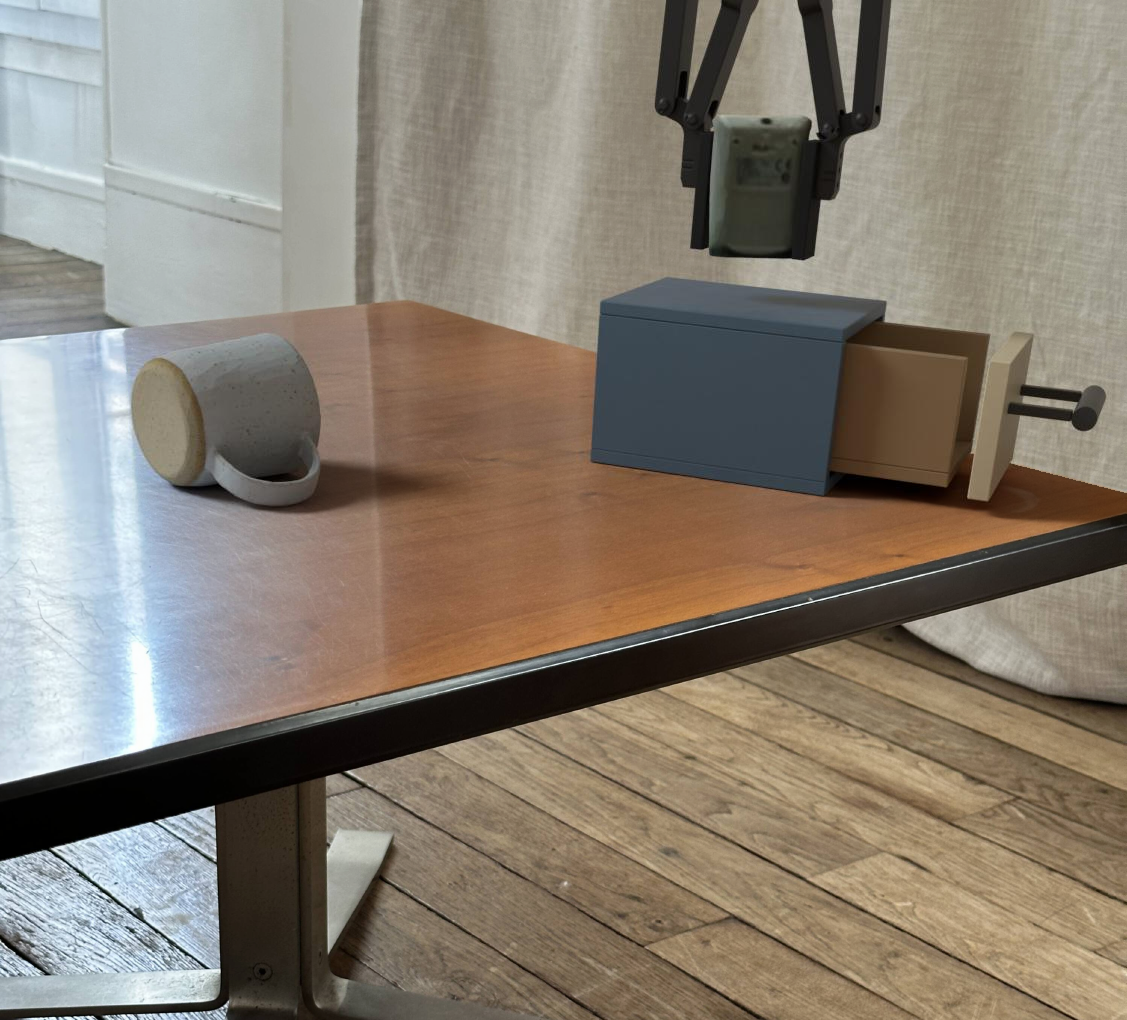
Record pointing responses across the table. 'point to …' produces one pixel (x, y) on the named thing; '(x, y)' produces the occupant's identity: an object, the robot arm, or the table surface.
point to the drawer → (940, 405)
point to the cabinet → (724, 381)
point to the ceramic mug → (231, 418)
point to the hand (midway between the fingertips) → (752, 251)
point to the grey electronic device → (755, 184)
